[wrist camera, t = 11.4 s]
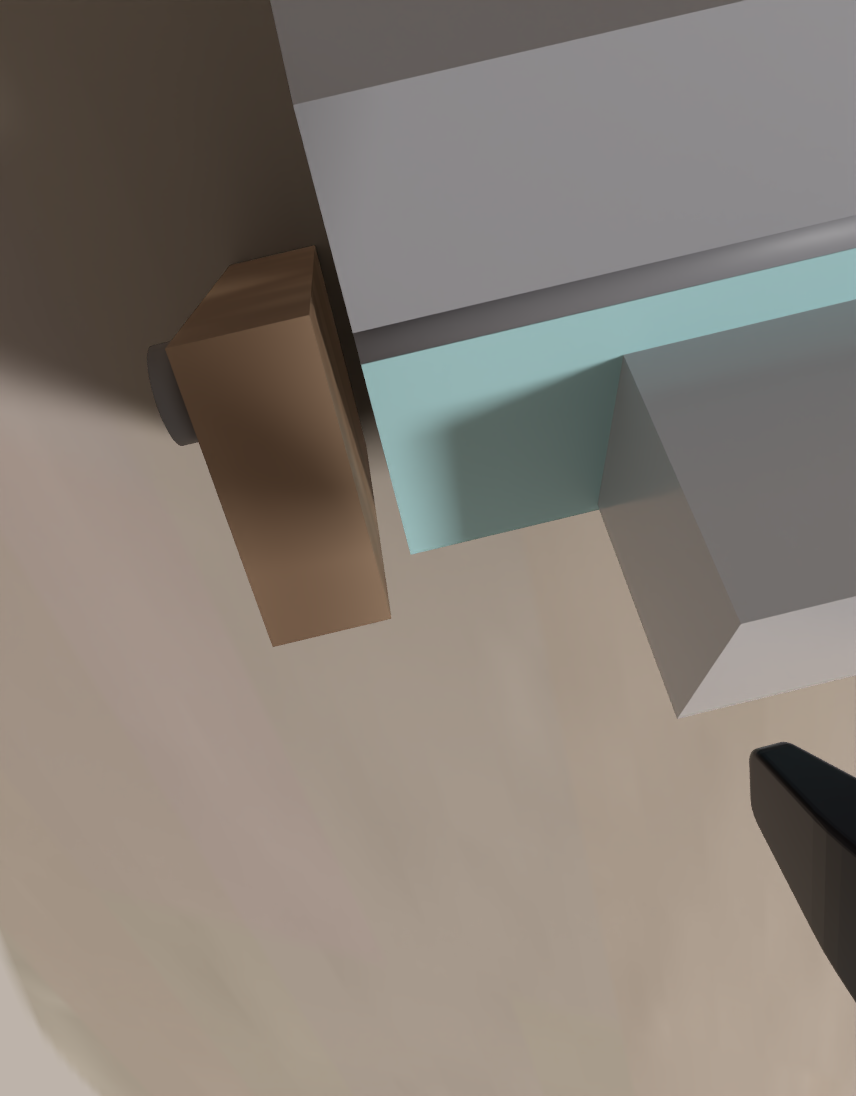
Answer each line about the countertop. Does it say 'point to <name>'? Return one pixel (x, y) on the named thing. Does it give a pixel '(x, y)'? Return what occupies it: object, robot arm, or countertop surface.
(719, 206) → the trapdoor
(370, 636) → the countertop surface
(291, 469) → the trapdoor frame
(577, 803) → the countertop surface
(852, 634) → the grey cube
